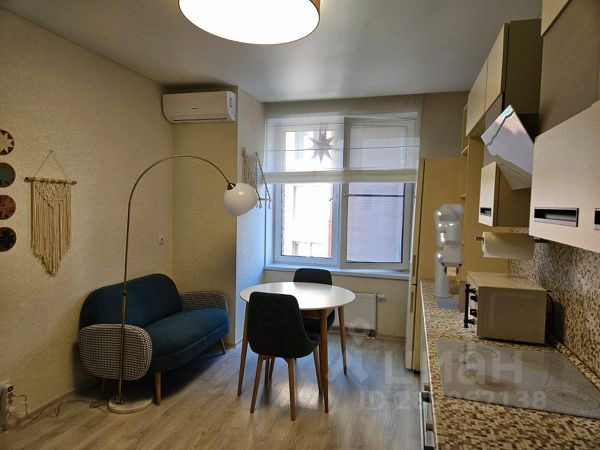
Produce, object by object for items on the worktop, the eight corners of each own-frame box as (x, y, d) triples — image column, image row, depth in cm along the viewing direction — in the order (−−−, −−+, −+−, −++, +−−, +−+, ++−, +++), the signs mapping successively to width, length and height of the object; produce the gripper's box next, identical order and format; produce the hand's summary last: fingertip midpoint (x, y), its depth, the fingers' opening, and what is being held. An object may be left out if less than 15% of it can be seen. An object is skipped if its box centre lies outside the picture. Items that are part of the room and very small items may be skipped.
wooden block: (474, 311, 220) (476, 281, 219) (476, 313, 215) (477, 283, 214) (458, 310, 222) (459, 280, 221) (459, 312, 218) (460, 282, 217)
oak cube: (446, 273, 220) (446, 265, 219) (455, 274, 218) (455, 266, 218) (446, 275, 215) (447, 267, 214) (456, 276, 213) (456, 267, 213)
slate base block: (436, 303, 237) (437, 297, 237) (457, 305, 234) (457, 299, 234) (438, 308, 226) (438, 302, 226) (459, 310, 222) (459, 304, 222)
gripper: (467, 243, 216) (466, 274, 217) (436, 241, 221) (435, 271, 223) (469, 244, 209) (467, 276, 210) (437, 243, 214) (435, 274, 215)
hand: (451, 273), depth 216 cm, fingers closed on oak cube, 5 cm apart
